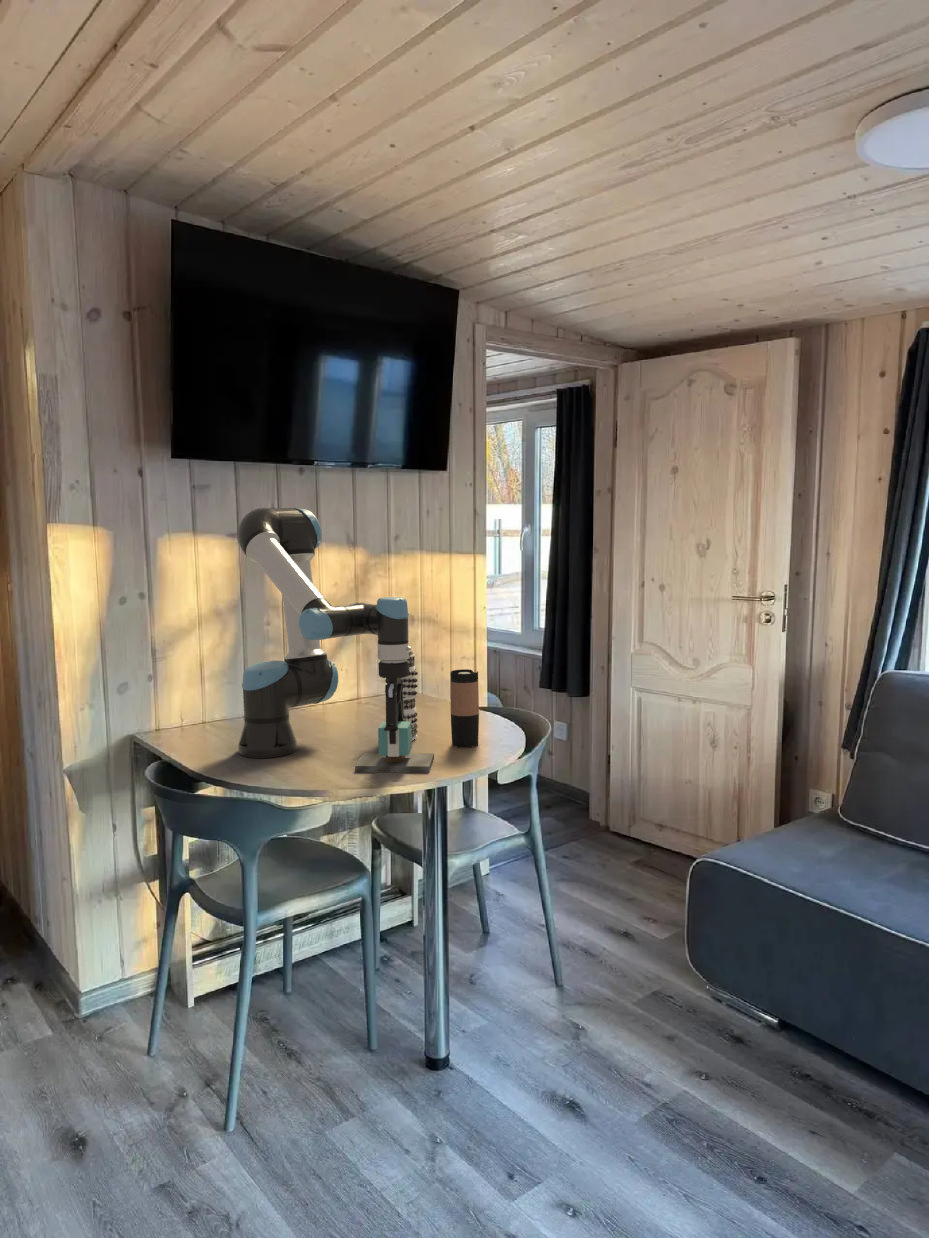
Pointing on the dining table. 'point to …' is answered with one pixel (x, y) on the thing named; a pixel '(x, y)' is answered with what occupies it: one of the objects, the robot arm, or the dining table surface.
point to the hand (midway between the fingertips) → (395, 751)
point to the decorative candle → (410, 695)
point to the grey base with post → (395, 763)
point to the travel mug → (464, 708)
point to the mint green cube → (404, 738)
